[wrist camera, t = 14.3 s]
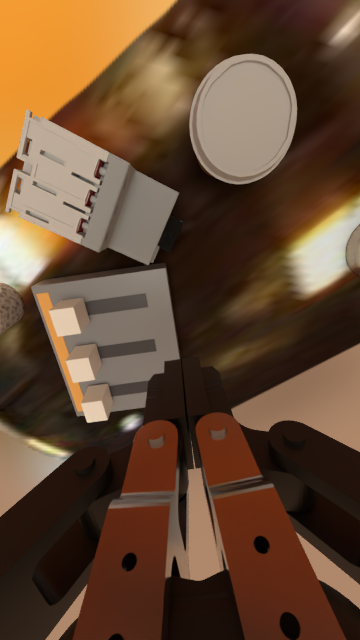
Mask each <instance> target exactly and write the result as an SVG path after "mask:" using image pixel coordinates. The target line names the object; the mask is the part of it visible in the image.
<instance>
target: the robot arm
mask: <svg viewBox="0 0 360 640" xmlns="http://www.w3.org/2000/svg"><path fill="white" fill-rule="evenodd" d="M346 259H347V263H348V265H349V267H350V269H351V270H352V271H353V272H354V273H355V274H357V275H358V276H360V225H359V226H358V227H357V229H356V230H355V231H354V233H353V234H352V236H351V237H350V240H349V242H348V245H347V250H346ZM182 363H183V370H182ZM182 363H181V359H177V360H170V361H164V373H159V374H154V375H153V376H152V377H151V379H150V380H149V382H148V387H147V396H146V405H145V413H144V422H143V427H141V428H140V429H139V430H138V432H137V433H136V435H135V438H134V442H132V443H131V444H130V445H128V446H126V447H124V448H122V449H120V450H117V451H115V452H113V453H110V454H108V452H107V450H106V449H105V448H103V447H101V446H89V447H85V448H83V449H81V450H79V451H77V452H75V453H74V454H73V455H72V456H70V457H69V458H68V459H67V460H66V461H65V462H64V463H62V464H61V465H60V466H59V467H58V468H56V469H55V470H54V471H53V472H52V473H51V474H49V476H47V477H46V478H45V479H44V480H43V481H41V482H40V483H39V484H38V485H37V486H36V487H34V488H33V489H32V490H31V491H30V492H29V493H27V494H26V495H25V496H24V497H23V498H22V499H21V500H19V501H18V502H17V503H16V504H15V505H14V506H13V507H11V508H10V509H9V510H8V511H7V512H5V513H4V514H3V515H2V516H1V517H0V640H45V639H46V638H47V637H48V635H49V634H50V633H51V631H52V630H53V629H54V627H55V626H56V624H57V623H58V622H59V621H60V619H61V618H62V617H63V615H64V614H65V613H66V611H67V610H68V609H69V607H70V606H71V605H72V603H73V602H74V601H75V599H76V598H77V597H78V595H79V594H80V593H81V591H82V590H83V589H84V587H85V586H86V585H87V588H86V592H85V595H84V599H83V603H82V606H81V610H80V614H79V617H78V618H77V619H76V620H75V621H74V622H73V623H72V624H71V625H70V627H69V628H68V629H67V630H66V631H65V633H64V634H63V635H62V636H61V637H60V639H59V640H360V609H359V608H358V607H357V606H356V605H354V604H353V603H352V602H351V601H350V600H349V599H347V598H346V597H345V596H343V595H342V594H341V593H340V592H338V591H337V590H335V589H333V588H332V587H330V586H329V585H327V584H326V583H324V582H322V581H320V580H318V579H317V576H316V574H315V572H314V570H313V568H312V566H311V564H310V562H309V559H308V557H307V555H306V553H305V551H304V549H303V547H302V545H301V543H300V540H299V538H298V536H297V534H296V532H297V533H298V534H300V535H301V536H302V537H303V538H304V539H305V540H307V541H308V542H309V543H310V544H312V545H313V546H314V547H315V548H316V549H318V550H319V551H320V552H321V553H322V554H324V555H325V556H326V557H327V558H328V559H330V560H331V561H332V562H333V563H335V564H336V565H337V566H338V567H339V568H341V569H342V570H343V571H344V572H345V573H346V574H348V575H349V576H350V577H351V578H353V579H354V580H355V581H356V582H357V583H359V584H360V452H358V451H356V450H354V449H352V448H350V447H348V446H346V445H345V444H343V443H340V442H339V441H337V440H335V439H333V438H330V437H329V436H327V435H325V434H323V433H321V432H319V431H317V430H315V429H313V428H311V427H309V426H307V425H305V424H303V423H300V422H297V421H281V422H278V423H276V424H274V425H273V426H272V427H271V428H270V430H269V432H266V431H259V430H253V429H249V428H247V427H244V426H243V425H241V424H240V423H238V421H237V420H236V419H235V418H234V417H233V414H232V411H231V408H230V405H229V402H228V399H227V395H226V392H225V389H224V386H223V383H222V380H221V377H220V374H219V372H218V371H217V370H216V369H215V368H214V367H212V366H210V367H202V368H201V366H200V362H199V357H191V358H184V359H182ZM183 373H184V376H183ZM190 434H191V435H190ZM191 441H192V445H191ZM192 447H193V454H194V460H195V466H196V468H201V472H202V479H203V485H204V492H205V497H206V502H207V506H208V511H209V516H210V521H211V526H212V530H213V535H214V540H215V544H216V550H217V554H218V560H219V565H220V571H221V572H219V573H217V574H215V575H213V576H211V577H209V578H207V579H205V580H202V581H194V580H190V572H189V556H188V543H189V540H188V539H189V535H188V533H189V526H188V524H189V504H188V503H189V493H188V483H189V481H188V469H194V465H193V455H192ZM295 531H296V532H295Z"/></svg>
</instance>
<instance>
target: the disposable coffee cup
mask: <svg viewBox="0 0 360 640" xmlns="http://www.w3.org/2000/svg"><path fill="white" fill-rule="evenodd" d="M296 117H297V103H296V96H295V91H294V89H293V86H292V83H291V81H290V79H289V77H288V76H287V74H286V73H285V72H284V70H283V69H282V68H281V67H280V66H279V65H278V64H277V63H276V62H274V61H273V60H271V59H269V58H267V57H265V56H263V55H256V54H245V55H238V56H233V57H231V58H229V59H227V60H224V61H223V62H221V63H220V64H218V65H217V66H215V67H214V68H213V69H212V70H211V71H210V72H209V73H208V74H207V76H206V77H205V78H204V80H203V81H202V83H201V84H200V86H199V88H198V90H197V92H196V94H195V97H194V99H193V103H192V107H191V112H190V124H189V127H190V138H191V142H192V146H193V150H194V152H195V154H196V157H197V161H198V163H199V165H200V167H201V168H202V170H203V171H204V172H205V173H206V174H208V175H210V176H212V177H215V178H217V179H219V180H221V181H224V182H226V183H231V184H247V183H251V182H253V181H256V180H259V179H261V178H262V177H264V176H266V175H267V174H269V173H270V172H271V171H272V170H273V169H274V168H275V167H276V166H277V165H278V164H279V163H280V161H281V160H282V159H283V157H284V156H285V154H286V152H287V150H288V148H289V146H290V144H291V141H292V138H293V135H294V130H295V125H296Z"/></svg>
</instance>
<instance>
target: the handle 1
mask: <svg viewBox="0 0 360 640" xmlns="http://www.w3.org/2000/svg"><path fill="white" fill-rule="evenodd" d="M49 313H50V316H51V319H52V322H53V325H54V328H55V331H56V334H57V337H60V336H67V335H74V334H81V333H82V332H83V330H84V329H85V327H86V326H87V325H88V323H89V322H90V320H89V316H88V313H87V309H86V306H85V302H84V299H83V297H82V298H75V299H68V300H61V301H60V302H59V303H57V304H56V305H55V306H54V307H53V308H51V309H50V310H49Z"/></svg>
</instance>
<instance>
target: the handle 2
mask: <svg viewBox="0 0 360 640" xmlns="http://www.w3.org/2000/svg"><path fill="white" fill-rule="evenodd" d="M112 403H113V400H112V396H111V393H110V390H109V386H108V384H101V385H93V386H88V388H87V391H86V393H85V395H84V397H83V399H82V402H81V406H82V409H83V412H84V415H85V418H86V420H87V423H89V422H96V421H104V420H108V417H109V414H110V410H111V407H112Z"/></svg>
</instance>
